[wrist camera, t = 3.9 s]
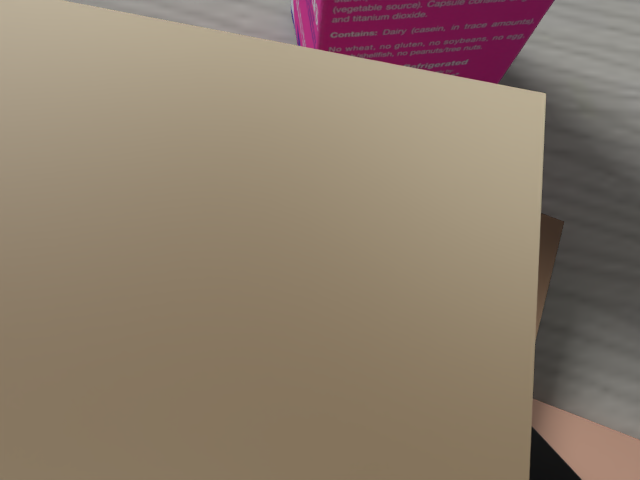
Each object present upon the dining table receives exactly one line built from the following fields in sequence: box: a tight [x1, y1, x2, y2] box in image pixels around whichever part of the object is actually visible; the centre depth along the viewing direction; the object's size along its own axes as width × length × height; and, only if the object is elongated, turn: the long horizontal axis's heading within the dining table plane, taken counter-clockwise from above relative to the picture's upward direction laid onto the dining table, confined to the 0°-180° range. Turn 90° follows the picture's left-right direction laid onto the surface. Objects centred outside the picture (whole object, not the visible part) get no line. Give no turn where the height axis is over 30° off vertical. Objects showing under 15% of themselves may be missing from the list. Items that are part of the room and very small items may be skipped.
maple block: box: [0, 0, 546, 480], centre depth 9 cm, size 5×5×13 cm
